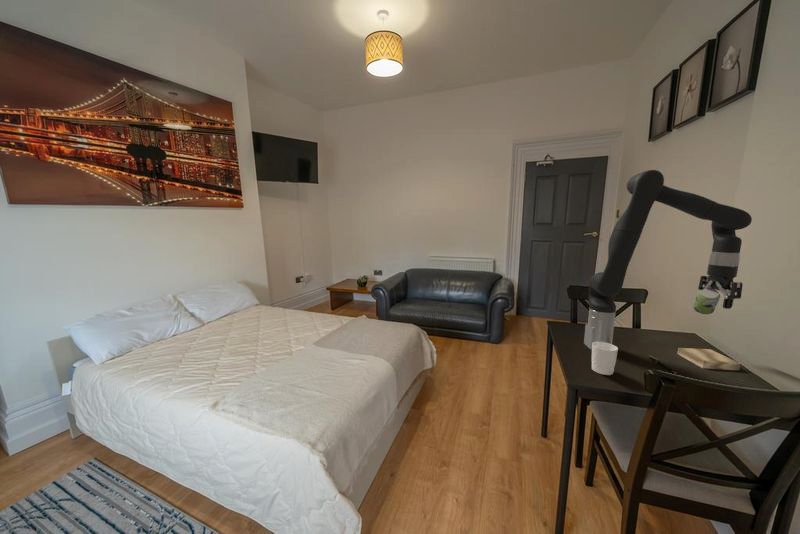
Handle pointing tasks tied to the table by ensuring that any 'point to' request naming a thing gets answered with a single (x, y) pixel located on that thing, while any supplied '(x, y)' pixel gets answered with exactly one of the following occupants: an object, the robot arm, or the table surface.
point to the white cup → (603, 357)
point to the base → (708, 359)
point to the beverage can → (706, 301)
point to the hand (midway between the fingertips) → (715, 305)
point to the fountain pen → (661, 364)
